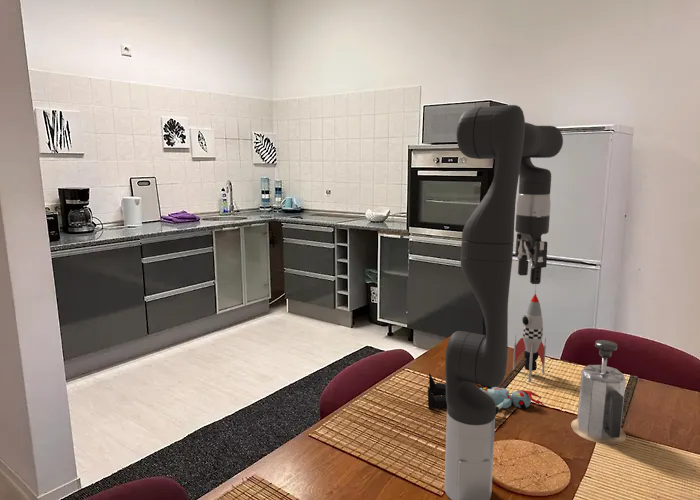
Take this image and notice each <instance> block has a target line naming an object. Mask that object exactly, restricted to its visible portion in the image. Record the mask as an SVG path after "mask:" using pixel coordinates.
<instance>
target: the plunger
mask: <svg viewBox="0 0 700 500" xmlns="http://www.w3.org/2000/svg"><path fill="white" fill-rule="evenodd" d="M594 347H595V348H597V349H598V350H599V351H598V356H599V357H601V359H602V360H601V365H602V368H601V373H602V374H606V366H607V364H608V359H609V358H611V357H612V354H613V352H615V351H618V350H617V349H618V344H617V343H616V342H614V341H612V340H608V339H607V340H605V339H598V340H595V343H594Z"/></svg>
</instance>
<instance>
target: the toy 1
mask: <svg viewBox="0 0 700 500" xmlns="http://www.w3.org/2000/svg"><path fill="white" fill-rule="evenodd" d="M428 380H429V381H428V383H429V384H428V385H429V386H427V405H428V407H427V408H428V409H447V402H446V383H442V382H436V381H434V380H435V379H434V378H433V376H432V375H431V373H430V372H428ZM480 386H481V387H478V388H479V389H481V390H482V391H484V392H485V393H487V394H488V395H489V396H491V397H492V399H493V400H494V402H495V405H496V415H495V417H496V416H497V415H498V414H499V411H500V409H508V408H510V407H511V406H512V404H513V405H514V407H516V408H519V409H520V408H521V409H523V410H528V407H530V405H531V401H532V402H533V403H536V404H537V405H541V406H545V404H544V403H543V402H541V399H542V397H541V396H540V395H538V394H536V392H533V391H531V390H524V389H521V390H518V389H517V390H514V391H512V392H511V394H510V391H509V390H508V389H506V388H504V387H499V386H498V387H487V386H483V385H480ZM435 394H437V395H435ZM441 395H442V396H441ZM532 396H533V397H537V398H539V399H540V400H539V399H534V398H533V397H532Z"/></svg>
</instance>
